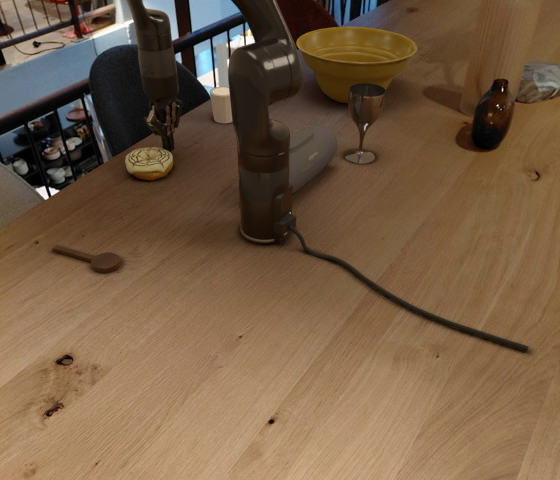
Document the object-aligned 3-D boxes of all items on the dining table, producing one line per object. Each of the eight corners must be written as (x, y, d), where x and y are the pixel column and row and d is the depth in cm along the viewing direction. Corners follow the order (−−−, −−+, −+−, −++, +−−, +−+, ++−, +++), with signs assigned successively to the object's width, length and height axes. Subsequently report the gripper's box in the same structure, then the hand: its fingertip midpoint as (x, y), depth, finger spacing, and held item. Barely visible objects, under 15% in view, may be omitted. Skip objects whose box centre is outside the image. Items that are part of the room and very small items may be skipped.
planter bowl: (333, 67, 177) (337, 18, 167) (428, 91, 164) (437, 39, 154) (272, 99, 159) (272, 45, 149) (373, 128, 146) (380, 72, 136)
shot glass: (234, 125, 146) (232, 97, 141) (208, 122, 147) (206, 94, 142) (240, 114, 151) (239, 87, 146) (215, 112, 152) (213, 84, 147)
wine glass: (338, 160, 133) (344, 93, 122) (348, 146, 138) (355, 81, 127) (371, 166, 131) (380, 99, 120) (380, 152, 136) (389, 86, 125)
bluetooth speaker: (248, 153, 113) (249, 199, 120) (288, 165, 110) (287, 211, 117) (304, 114, 126) (302, 158, 134) (341, 124, 123) (338, 168, 130)
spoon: (126, 260, 104) (125, 256, 103) (110, 275, 101) (108, 271, 100) (63, 243, 108) (62, 238, 107) (46, 257, 105) (44, 252, 104)
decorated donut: (124, 182, 124) (121, 166, 122) (130, 160, 132) (127, 144, 129) (172, 181, 125) (170, 165, 122) (175, 159, 132) (173, 143, 130)
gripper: (156, 83, 113) (168, 165, 126) (190, 62, 122) (197, 142, 134) (125, 77, 116) (139, 159, 128) (160, 57, 124) (170, 136, 136)
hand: (169, 150), depth 131 cm, fingers closed
